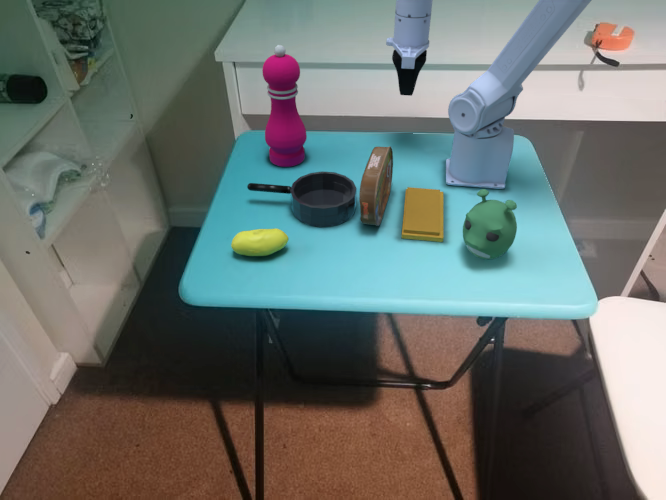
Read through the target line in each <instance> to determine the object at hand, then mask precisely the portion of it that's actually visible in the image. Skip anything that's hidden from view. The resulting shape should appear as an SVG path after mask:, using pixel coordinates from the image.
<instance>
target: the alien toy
mask: <svg viewBox="0 0 666 500" xmlns="http://www.w3.org/2000/svg"><path fill="white" fill-rule="evenodd" d="M489 194H490V191H489V190H488V189H486V188H481V189H479V190H478V191H477V192H476V195H477V196H478V197H480V198H481V201H480V202H478V203H476V204H475V205H473V207H472V208H471V209H470V210H469V211H468V212H466V214H465V219H464V222H463V225H462V238H463V242H464V245H465V247H466V248H467V250H468V251H469V252H470V254H472V255H474V257H477V258H479V259H482V260H493V259H497V258H499V257H502V256H503V255H505V254H506V253H507V252H508V251H509V250H510V248H511V247H512V245H513V244H514V242H515V239H516V235H517V231H518V224H517V223H518V222H517V218H516V216H515V212H514V211H515V210H516V209H518V205H517V202H516V201H514V200H512V199H507V200H506V201H505V202H503V201H501V200H498V199H486V197H487V196H488V195H489Z"/></svg>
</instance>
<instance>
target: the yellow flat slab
mask: <svg viewBox="0 0 666 500" xmlns="http://www.w3.org/2000/svg"><path fill="white" fill-rule="evenodd" d="M403 207H404V208H403V216H402V227H401V239H403V240H404V239H405V240H415V241H427V242H435V243H437V242H438V243H443V242H444V233H445V231H444V229H445V228H444V225H445V224H444V191H441V189H436V188H435V189H434V188H423V187H410V186H408V187H407V188H405V194H404V206H403Z"/></svg>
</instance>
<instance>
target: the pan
mask: <svg viewBox="0 0 666 500" xmlns="http://www.w3.org/2000/svg"><path fill="white" fill-rule="evenodd" d="M290 187H291V189H290V207H291V212H292V214H293V216H294V217H295V218H296V219H297V220H298V221H300V222H301V223H303V224H306V225H309V226H311V227H317V228H318V227H319V228H329V227H334V226H339V225H342V224H344V223H346V222H348V221H349V220H350V219H351V218H352V217H353V216H354V215H355V212H356V209H357V190H358V189H357V186H356V184H355V182H354V181H353V180H352V179H351V178H350V177H348V176H346V175H345V174H341V173H338V172H335V171H316V172H310V173H307V174H304V175H302V176H300V177H299V178H297V179H296V180H295V181H294V182H292V185H291V186H290Z"/></svg>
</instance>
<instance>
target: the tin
mask: <svg viewBox="0 0 666 500" xmlns="http://www.w3.org/2000/svg"><path fill="white" fill-rule="evenodd" d="M393 153H394V152H393V147H392V146H374V147H373V148H372V150H371V152H370V156H369V158H368V160H367V163H366V166H365V168H364V171H363V173H362V177H361V180H360V185H359V195H358V196H359V197H358V201H359V202H358V203H359V211H360V218H359V220H360V222H361V223H362V224H364V225H371V226H376V227H379V226H380V225H381V223H382V220H383V218H384V214H385V210H386V207H387V204H388V201H389V198H390V195H391V190H392V183H393V171H394V170H393V169H394V154H393Z"/></svg>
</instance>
